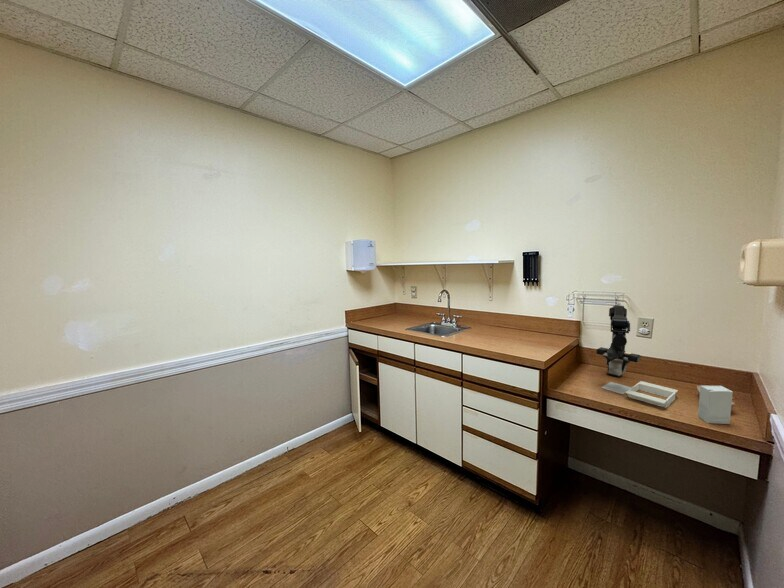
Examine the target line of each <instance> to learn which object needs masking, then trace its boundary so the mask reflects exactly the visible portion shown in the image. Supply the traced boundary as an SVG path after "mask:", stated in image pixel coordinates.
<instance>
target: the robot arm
mask: <svg viewBox="0 0 784 588" xmlns="http://www.w3.org/2000/svg"><path fill="white" fill-rule="evenodd" d="M627 315H628V309H627V308H626V307H625V306H624V305H621V304H620V305H617V304H615V305H613V306H612V307H609V309H608V317H609V320H610V332H611V334H612V335H611V342H610V347H608V348H607V347H603V346H602V347H601V346H600V347H598V348H597V349H596V351H595V354H596V355H601V356H602V357H603V358H605V359H606V361H605V363H606V366H607V371H606V375H608V376H610V377H611V376H612V377H613V378H614V377H616V378H621V377H622V376H623V375H624V373H623V374H621V375H620V376H618V375H614V374H610V373H608V372H609V362H610V361H612V360H614V359H620V360H623V366H622V372H623V371H624V370H625V368H626V369H627V366H628V365H629V363H631V362H632V363H638V362H640V361H641V360H642V356H641V355H640V354H636V353H633V352H632V353H630V354H627V353H626V345H627V343H628V341H627V336H626V334H629V333H630V332H631V322H630V321H629V320H628V318H627Z"/></svg>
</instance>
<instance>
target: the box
mask: <svg viewBox="0 0 784 588" xmlns="http://www.w3.org/2000/svg"><path fill="white" fill-rule="evenodd" d="M622 366H623V360H620V359H614V360H612V361H610V362H609V372H608V373H610V374H614V375H618V376H620V375H621V374H623V375H624V374H625V373H626V372H627V367H626V368H625V370H624V371H623V372H622ZM620 377H621V376H620Z"/></svg>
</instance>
